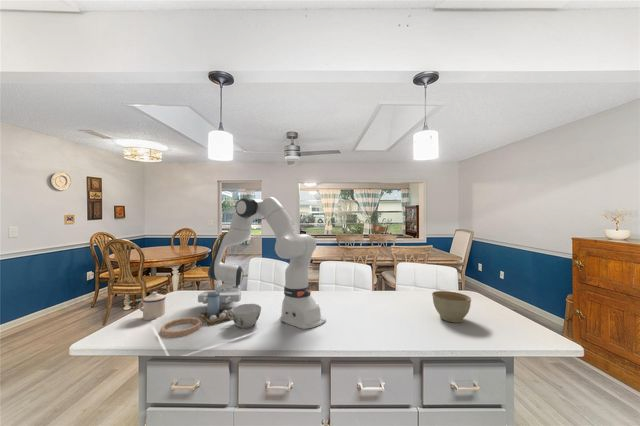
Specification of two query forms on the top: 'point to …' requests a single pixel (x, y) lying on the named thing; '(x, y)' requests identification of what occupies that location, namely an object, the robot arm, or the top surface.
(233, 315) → the teacup
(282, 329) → the top surface
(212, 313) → the pebble jar
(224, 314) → the pebble
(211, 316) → the pebble
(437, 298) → the planter bowl
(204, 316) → the parts tray
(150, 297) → the teacup with lid
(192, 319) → the tan flat ring
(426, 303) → the top surface
